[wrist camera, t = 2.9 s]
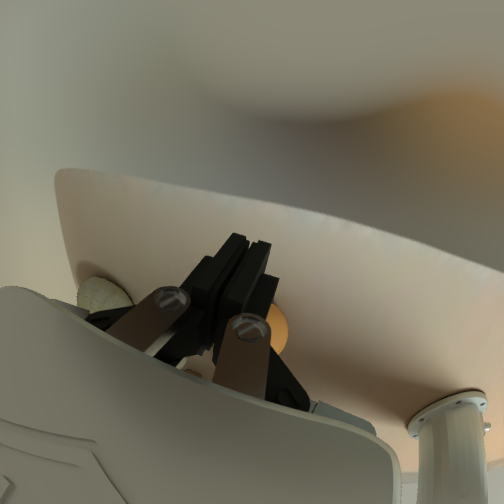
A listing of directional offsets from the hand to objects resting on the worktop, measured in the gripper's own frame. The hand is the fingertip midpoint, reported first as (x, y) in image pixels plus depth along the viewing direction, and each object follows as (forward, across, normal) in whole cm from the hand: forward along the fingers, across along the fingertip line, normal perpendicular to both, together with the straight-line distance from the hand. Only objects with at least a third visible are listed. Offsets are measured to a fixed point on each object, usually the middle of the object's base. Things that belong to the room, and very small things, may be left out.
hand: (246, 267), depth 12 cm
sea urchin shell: (+9, +17, +18) cm, 27 cm away
